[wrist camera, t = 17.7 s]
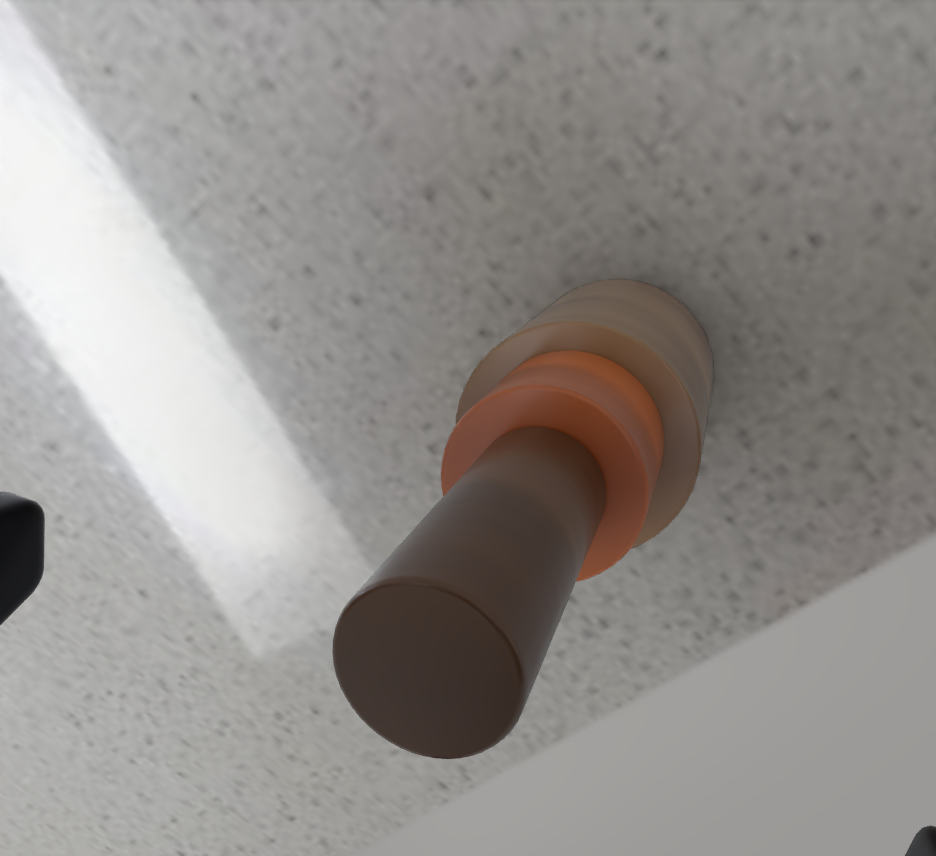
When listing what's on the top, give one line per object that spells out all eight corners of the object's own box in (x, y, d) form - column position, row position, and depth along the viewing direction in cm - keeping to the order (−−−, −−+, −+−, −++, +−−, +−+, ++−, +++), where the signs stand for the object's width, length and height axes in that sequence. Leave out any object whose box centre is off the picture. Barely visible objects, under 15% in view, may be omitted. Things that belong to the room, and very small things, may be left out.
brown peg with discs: (656, 534, 15) (578, 848, 8) (482, 509, 16) (283, 772, 9) (673, 358, 14) (600, 547, 7) (487, 341, 15) (268, 496, 8)
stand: (703, 472, 20) (687, 576, 15) (521, 449, 21) (452, 539, 16) (724, 285, 19) (715, 332, 14) (530, 272, 20) (456, 311, 15)
